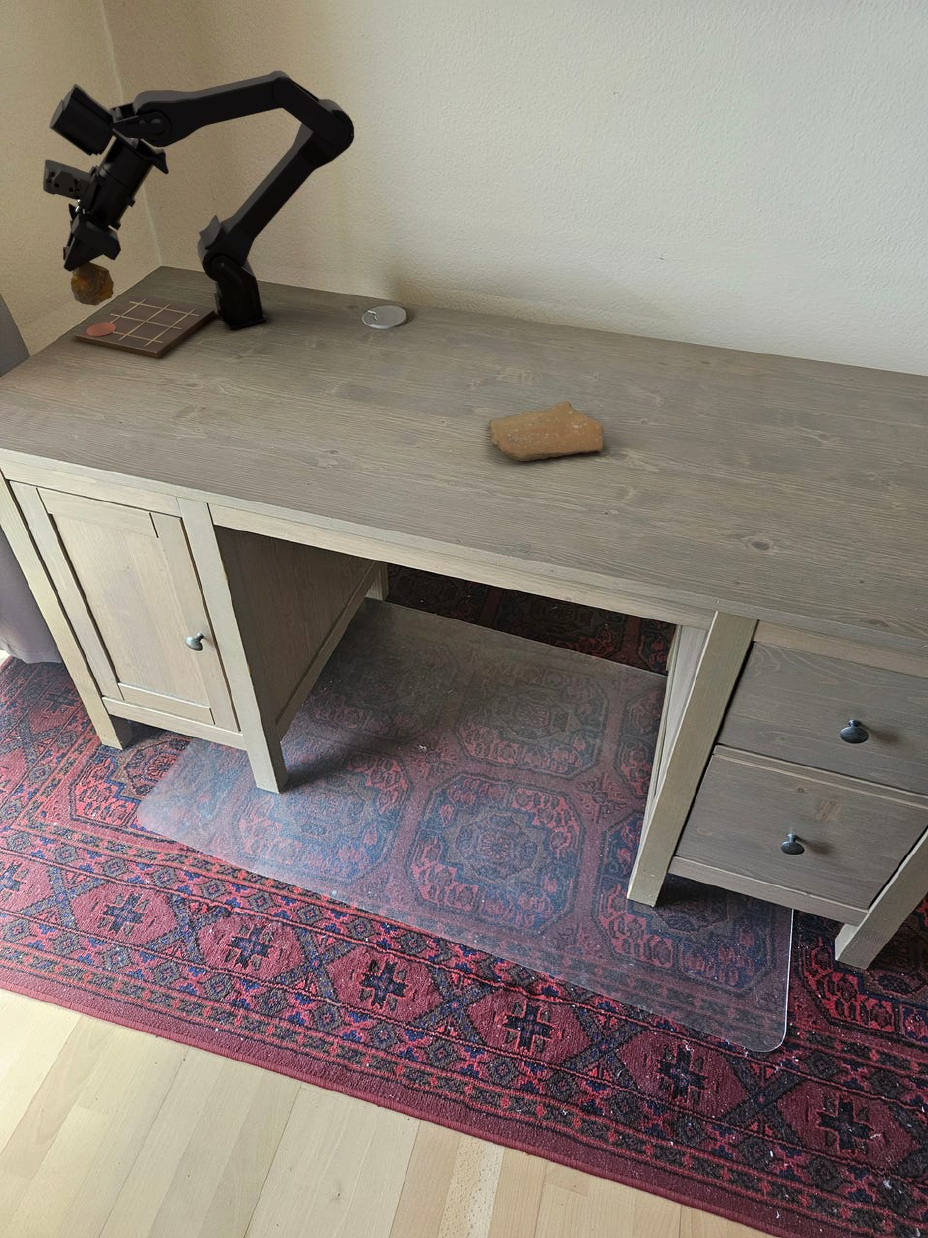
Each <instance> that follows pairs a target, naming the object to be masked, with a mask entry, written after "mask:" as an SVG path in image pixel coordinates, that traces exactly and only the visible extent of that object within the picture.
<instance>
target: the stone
mask: <svg viewBox="0 0 928 1238" xmlns="http://www.w3.org/2000/svg"><path fill="white" fill-rule="evenodd" d="M487 425H488V427H489V432H490V435H491V436H490V438H491V439H490V441H491V446H492V447H493V448H494V449H497V450H499V451H501V452H503V453H504V454H505V455H506V456H507V457H509V458H510V459H513V460H515V461H521V462H529V461H535V460H546V459H548V458H557V457H562V456H569V455H575V454H579V453H583V454H587V453H591V452H602V451H603V449H604V440H603V433H604V428H603V425H602V424H601V423H600V422H599V421H596V420H595V419H592V418H590V417H589V416H587V415H586V414H583V413H582V412H580V411H578V410H577V409H575V408H573V406H572V404H571V402H570V401H567V400H564V401H562V402H560V403H559V402H558V404H555V405H553V406H551V407H548V408H543V409H539V410H533V411H529V412H525V413H519V414H516V415H511V416H504V417H500V418H499V417H498V418H493V419H489V421H488V422H487Z"/></svg>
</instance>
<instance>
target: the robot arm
mask: <svg viewBox="0 0 928 1238" xmlns="http://www.w3.org/2000/svg"><path fill="white" fill-rule="evenodd" d="M278 109H283V110H284V111H286V112H288V113H289V114H290V115H291V116H292V117H293V118H295V119H296V120H298V121H299V122H300V125H299V127H298V130H297V133H296V136H295V138H294V141H293V143H292V145H291V147H290V148H289V149H288V150H287V151H286V152H285V154H284V155H283V156H282V157H281V158H280V160H279V161H278V162H277V163H276V164H275V166H273V168H272V169H271V170H270V171H269V173H268V174H267V175H266V176H265V178H263V180H262V181H261V182H260V183H259V184H258V185H257V187H256V188H255V189H254V190H253V191H252V193H251V194H250V195H249V197H248V198H247V199H246V200H245V201H244V202H243V203H242V205H241V206H240V207H239V208H238V209H237V210H236V212H235V213H234V214H233V215H232V216H230V217H229V218H226V219H224V220H221V219H220V218H219V216H218V215H216V214H215V215H214V216H213V217H212V218H211V220H210V221H209V223H208V225H206V227H205V228H204V229H202V230H200V231H199V232H198V234H199V237H200V238H199V240H198V242H197V246H196V248H197V255H198V258H199V260H200V263H201V267H202V270H203V271H204V273H205V275H206V276H207V277H208V279H210V280H212V281H213V282H214V284H215V290H216V291H215V292H214V294H213V296H214V301H215V305H216V310H217V315H218V317H219V319H220V320H221V321H222V323H224V324H225V325H226V326H227V327H228V329H230V330H237V329H241V328H243V327H248V326H252V325H257V324H262V323H266V322H267V321H268V318H267V317H266V315H265V314H264V312H263V306H262V300H261V295H260V288H259V283H258V281H257V277H256V275H255V272H254V269H253V268H252V266H251V263H250V261H249V259H248V257H249V256H250V253H251V249H252V247H253V244H254V242H255V240H256V239H257V237H258V236H259V235H260V234H261V233H262V232H263V230H264V229H265V228H266V227H267V226H268V224H269V223H271V221H272V220H273V219H274V218H275V216H276V215H278V213H279V212H280V211H281V210H282V209H283V207H284V206H286V204H287V203H288V202H289V201H290V199H291V198H292V197H293V196H294V195H295V193H297V191H298V190H299V189H300V188H301V186H302V185H303V184H304V183H305V182H306V180H308V179H309V177H310V176H311V175H312V174H313V173H314V172H315V171H316V170H317V169H320V168H322V167H324V166H326V165H328V164H330V163H332V162H333V161H335V160H336V159H337V158H338V157H340V156H341V155H342V154H343V153H345V152H346V151H347V150H348V149H350V147H351V146H352V144H353V143H354V139H355V126H354V122H353V120H352V119H351V118H350V116H349V114H348V113H347V112H346V111H345V110H344V109H343V108H342V107H341V105H339V104H338V103H337V102H336V101H334V100H332V99H329V98H319V97H317V95H315V94H314V93H312V92H311V91H310V90H309V89H306V88H305V87H304V86H302V85H301V84H299V83H298V82H296V81H295V80H293V78H291V76H290V75H289V74H288V73H286V72H285V71H282V70H274V71H272V72H270V73H268V74H265V75H264V74H263V75H260V76H256V77H251V78H247V79H243V80H238V81H234V82H229V83H225V84H221V85H217V86H212V87H208V88H203V89H199V90H195V91H194V90H193V91H182V90H175V89H174V90H173V89H159V90H158V89H156V90H155V89H154V90H151V89H150V90H144V91H142V92H139V93H138V94H137V95H136V96H135V98H134V100H133V101H132V102H128V103H124V104H121V105H117V106H112V107H110V108H109V109H108V108H107V107H105V106H104V105H103V104H101V103H100V102H99V101H97V100H96V99H95V98H93V97H92V96H91V95H90V94H89V93H88V92H87V91H86V90H85V89H84V88H83V87H81V86H80V85H79V84H77V83H74V84H73V85H72V87H71V89H70V91H68V92H67V93H66V95H65V96H64V98H63V99H60V101H59V102H58V105H57V106H56V108H55V111H54V112H53V114H52V117H51V120H50V122H49V126H48V127H49V129H50V130H51V131H53V132H54V133H56V134H57V135H59V136H60V137H62V138H63V139H64V140H65V141H67V142H68V143H70V144H71V145H73V146H74V147H76V148H77V149H79V150H80V151H81V152H83V153H84V154H85V155H87V156H88V157H91V156H92V155H94V156H98V155H99V156H101V155H103V153H104V152H105V151H106V149H107V148H108V147H109V148H108V150H107V152H106V153H105V155H104V157H103V158H102V160H101V162H100V163H99V165H97V164H96V165H95V166H94V165H92V166H91V168H90V169H89V171H84V170H82V169H79V168H77V167H74V166H72V165H69V164H65V163H62V162H58V161H55V160H52V159H45V160H44V169H43V178H42V190H43V191H44V192H45V193H47V194H49V195H53V196H55V195H58V196H62V197H63V198H68V199H70V200H75V201H76V203H75V205H74V204H72V203H70V202H69V203H68V204H67V206H68V212H69V216H70V220H69V226H70V231H69V233H68V234H69V235H68V237H67V241H66V245H65V247H67V246H68V247H70V249H69V252H68V254H67V257H66V260H65V261H64V264H63V269H64V270H66V271H68V272H71V273H72V272H73V270H75V269H77V268H78V267H80V266H82V265H84V264H86V263H87V262H92V261H93V260H95V259H97V258H100V257H102V256H105V257H106V258H107V259H109V260H111V261H116V259H117V258H118V257H119V254H120V253H121V251H122V248H121V243H120V242H121V241H120V239H119V235H118V231H119V230H120V228H121V227H122V222H121V219H122V218H123V217H124V215H125V214H126V212H127V210H128V208H129V207H131V208H133V207H134V205H135V204H136V202H137V201H136V196H137V194H138V193H139V191H140V189H141V188H142V186H143V184H144V182H145V181H146V179H147V177H148V176H149V174H150V173H151V171H152V170H153V168H156V169H157V170H159V171H160V172H161V173H163V174H164V175H169V174H170V170H169V168H168V164H167V153H166V150H165V148H166V147H167V148H168V147H169V146H171V145H174V144H175V143H177V142H179V141H180V142H181V141H182V140H184V139H186V138H188V137H190V136H191V135H192V134H193V133H195V132H196V131H198V130H200V129H202V128H204V127H206V126H211V125H215V124H218V123H223V122H227V121H232V120H236V119H239V118H240V119H241V118H244V117H245V118H246V117H248V116H253V115H256V114H262V113H265V112H269V111H274V110H278ZM113 137H114V140H113V142H112V143H111V145H110V142H111V140H112V138H113ZM109 145H110V146H109ZM153 147H154V148H153Z"/></svg>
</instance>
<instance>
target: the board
mask: <svg viewBox="0 0 928 1238" xmlns="http://www.w3.org/2000/svg"><path fill="white" fill-rule="evenodd" d="M215 316H216V311H215V309H212V308H207V307H202V306H197V305H193V304H188V303H187V304H186V303H181V302H178V301H177V302H176V301H172V300H166V299H163V298H157V297H153V296H152V297H151V296H146V295H141V294H134V295H133V296H131V297H130V298H128V299H126V300H125V301H123V302H122V303H121V304H119V305H117V306H116V307H114V308H113V309H112V310H110V311H108V312H107V313H105V314H104V315H102V316H101V317H99V318H97V319H96V320H94V321H93V322H92V323H90V324H89V325H87V326H85V327H84V328H82V329H81V330H80V331H78V332H76V333H75V334H74V337H75V340H76V341H78V342H83V343H87V344H91V345H96V346H101V347H105V348H109V349H115V350H119V351H123V352H128V353H133V354H137V355H142V356H146V357H151V358H155V359H160V358H162V357H163V356H164V355H165V354H167V353H168V352H169V351H170V350H172V349H173V348H175V347H176V346H178V344H180V343H181V342H183V341H184V340H185V339H186V338H188V337H189V336H190V335H191V334H193V333H194V332H195V331H197V330H198V329H199V328H200V327H202V326H203V325H204V324H206V323H207V322H209V321H210V320H211V319H212V318H214V317H215Z"/></svg>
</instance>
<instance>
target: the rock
mask: <svg viewBox="0 0 928 1238" xmlns="http://www.w3.org/2000/svg"><path fill="white" fill-rule="evenodd" d="M69 249H70V247H68V246H67V247H66V246H63V247H62V259H63V261H64V262H65V260H66V257H67V254H68V252H69ZM71 274H72V277H71V281H70V286H71V287H70V290H71V292H72V295H73V298H74V300H75V301H77V302H79V303H80V304H82V305H85V306H86V305H87V306H94V307H97V306H99V305H100V304H102V303H103V302H105V301H106V300H110V299H112V297H113V295H114V293H115V291H114V287H115V282H114V281H113V279H112V276H111V274H110V270H109V269H107V268H106V267H104V266H102V265H99V264H97V263H94V262H92V261H89V262H87V263H86V264H84V265H82V266H80V267H78V268H77V269H75V270H73V271H71Z"/></svg>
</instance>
